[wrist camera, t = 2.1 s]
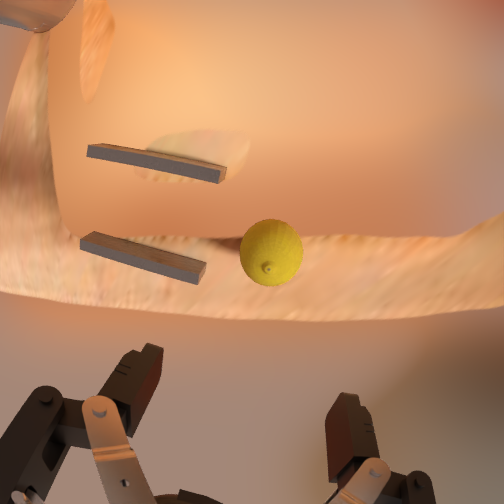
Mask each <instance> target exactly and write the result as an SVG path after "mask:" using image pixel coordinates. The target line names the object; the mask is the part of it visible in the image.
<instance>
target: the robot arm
mask: <svg viewBox="0 0 504 504" xmlns="http://www.w3.org/2000/svg"><path fill="white" fill-rule="evenodd" d="M75 2H76V0H0V24H4V25H9V26H14V27H18V28H22V29H25V30H28V31H34V32H45V31H48V30H49V29H51V28H53V27H54V26H56V25H57V24H58V23H59V22H60V21H62V20H63V19H64V18H65V16H66V15H67V14H68V13H69V11H70V10H71V9H72V7H73V6H74V3H75ZM163 352H164V350H163V348H162V347H159V346H156V345H153V344H150V343H147V344H146V345H145V346H144V348H143V349H142V351H141V352H138V351H135V350H132V351H130V352H129V353H127V354H125V355H124V356H123V357H122V359H121V360H120V362H119V364H118V365H117V366H116V368H115V370H114V371H113V372H112V374H111V375H110V377H109V378H108V380H107V381H106V383H105V384H104V386H103V387H102V389H101V390H100V392H99V393H98V395H96V396H92V397H89V398H88V399H86V400H83V401H80V400H73V399H67V398H63V397H62V394H61V393H60V392H59V391H58V390H57V389H56V388H54V387H51V386H41V387H38V388H36V389H35V390H34V391H33V392H32V393H31V395H30V396H29V397H28V399H27V400H26V402H25V403H24V405H23V406H22V407H21V409H20V411H19V412H18V413H17V415H16V416H15V418H14V419H13V421H12V422H11V424H10V425H9V426H8V428H7V430H6V431H5V433H4V434H3V436H2V437H1V439H0V504H45V503H44V501H45V499H46V497H47V494H48V492H49V490H50V488H51V486H52V484H53V482H54V479H55V477H56V475H57V473H58V471H59V469H60V467H61V465H62V463H63V461H64V459H65V457H66V455H67V452H68V451H69V449H70V447H71V446H75V447H80V448H86V449H92V452H93V456H94V459H95V463H96V466H97V469H98V472H99V476H100V479H101V481H102V485H103V487H104V490H105V493H106V495H107V498H108V501H109V504H223V503H220V502H218V501H216V500H214V499H211V498H209V497H207V496H204V495H200V494H196V493H192V492H188V491H185V490H181V489H180V490H179V494H178V495H177V494H176V495H175V494H165V495H158V496H153V494H152V491H151V490H150V487H149V485H148V483H147V480H146V478H145V476H144V473H143V471H142V469H141V466H140V464H139V461H138V459H137V456H136V454H135V452H134V450H133V449H131V447H130V444H129V442H128V439H127V436H129V437H131V438H132V437H133V435H134V433H135V431H136V429H137V427H138V425H139V422H140V420H141V418H142V416H143V414H144V412H145V410H146V408H147V406H148V404H149V402H150V400H151V398H152V396H153V393H154V391H155V389H156V387H157V385H158V383H159V380H160V377H161V371H162V361H163ZM325 432H326V444H327V460H328V476H329V482H331V483H338V488H337V489H336V490H335V491H334V492H333V493H332V495H331V496H330V497H329V498H328V499H327V500H326V502H324V503H323V504H436V501H435V496H434V491H433V486H432V481H431V479H430V477H429V476H428V475H427V474H426V473H424V472H422V471H413V472H411V473H410V474H408V475H407V476H406V475H402V474H399V473H395V472H392V471H391V470H390V467H389V465H388V464H387V463H386V462H385V461H384V460H382V459H380V455H379V450H378V446H377V441H376V436H375V433H374V427H373V422H372V418H371V415H370V413H369V412H368V410H367V409H366V407H364V406H361V405H360V401H359V397H358V395H356V394H350V393H344V392H342V393H340V395H339V396H338V398H337V400H336V401H335V403H334V404H333V406H332V407H331V409H330V411H329V412H328V414H327V416H326V420H325Z"/></svg>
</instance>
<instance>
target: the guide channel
mask: <svg viewBox="0 0 504 504" xmlns="http://www.w3.org/2000/svg"><path fill="white" fill-rule="evenodd" d="M87 157H91V158H97V159H102V160H108V161H113V162H119V163H124V164H129V165H134V166H139V167H144V168H149V169H154V170H158V171H163V172H168V173H172V174H177V175H182V176H186V177H191V178H195V179H199V180H204V181H208V182H212V183H216V184H219V183H220V182H221V181H223V180H224V179H225V174H226V170H227V167H222V166H218V165H214V164H209V163H205V162H200V161H195V160H191V159H186V158H181V157H176V156H171V155H166V154H161V153H156V152H150V151H145V150H139V149H134V148H128V147H121V146H116V145H110V144H95V145H94V144H93V145H88V150H87ZM80 250H83V251H86V252H89V253H92V254H96V255H99V256H102V257H105V258H108V259H111V260H114V261H118V262H121V263H124V264H127V265H131V266H134V267H137V268H140V269H144V270H147V271H150V272H154V273H157V274H160V275H164V276H167V277H171V278H174V279H178V280H181V281H185V282H188V283H192V284H195V285H198V284H199V282H200V280H201V278H202V277H203V275H204V273H205V269H206V263H205V262H202V261H198V260H194V259H191V258H187V257H183V256H180V255H176V254H172V253H169V252H165V251H162V250H158V249H155V248H151V247H147V246H144V245H140V244H137V243H133V242H130V241H126V240H123V239H119V238H116V237H112V236H109V235H105V234H102V233H99V232H95V231H94V232H92V233H90V234H88V235H87V236H85V237H83V238H81V239H80Z"/></svg>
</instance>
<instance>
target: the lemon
mask: <svg viewBox="0 0 504 504" xmlns="http://www.w3.org/2000/svg"><path fill="white" fill-rule="evenodd" d="M302 257H303V247H302V242H301V239H300V237H299V235H298V233H297V232H296V231H295V230H294V229H293V228H292V227H291V226H290V225H288V224H287V223H286V222H283V221H280V220H275V219H269V220H263V221H261V222H258V223H256V224H255V225H254V226H252V227H251V228H250V229H249V230H248V231H247V232H246V234H245V235H244V237H243V239H242V242H241V245H240V261H241V264H242V267H243V269H244V271H245V273H246V274H247V275H248V277H250V278H251V279H252V280H253V281H254V282H256V283H258V284H260V285H264V286H278V285H281V284H283V283H285V282H287V281H289V280H290V279H291V278H292V277H293V276H294V275H295V274H296V272H297V271H298V269H299V267H300V265H301V262H302Z"/></svg>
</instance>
